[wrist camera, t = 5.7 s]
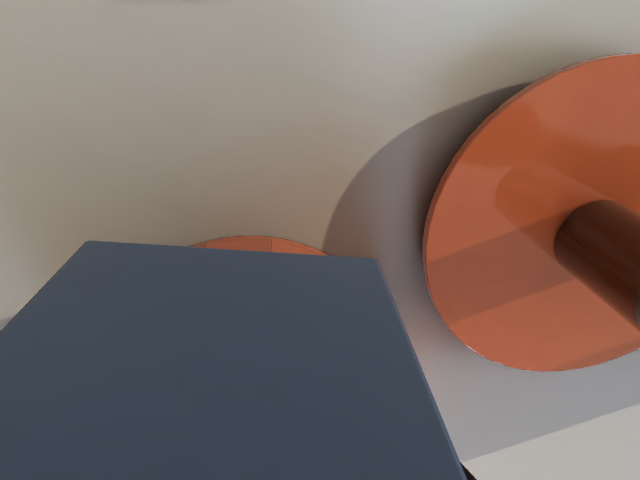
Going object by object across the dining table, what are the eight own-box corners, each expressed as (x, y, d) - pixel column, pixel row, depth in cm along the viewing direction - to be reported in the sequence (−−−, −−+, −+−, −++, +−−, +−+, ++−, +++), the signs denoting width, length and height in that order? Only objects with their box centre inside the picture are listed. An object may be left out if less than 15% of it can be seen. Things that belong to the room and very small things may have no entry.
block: (85, 238, 7) (-213, 546, 3) (378, 256, 7) (498, 542, 3) (111, 451, 9) (-46, 827, 5) (343, 455, 9) (391, 798, 5)
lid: (369, 149, 17) (417, 214, 11) (733, -17, 15) (1024, -49, 9) (468, 394, 22) (536, 527, 16) (744, 288, 21) (930, 392, 15)
